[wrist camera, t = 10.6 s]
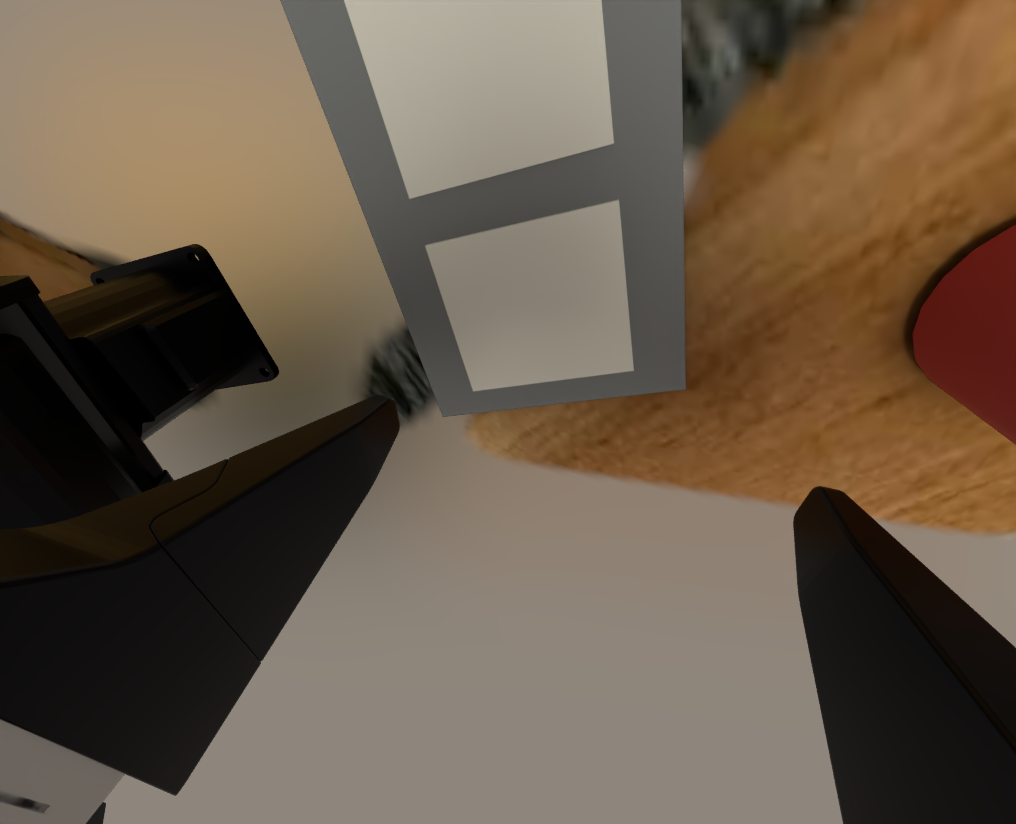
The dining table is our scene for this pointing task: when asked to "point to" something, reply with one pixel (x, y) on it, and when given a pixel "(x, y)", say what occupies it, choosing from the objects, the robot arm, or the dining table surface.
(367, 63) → the label board
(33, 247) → the dining table surface
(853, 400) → the dining table surface
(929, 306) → the beer can
